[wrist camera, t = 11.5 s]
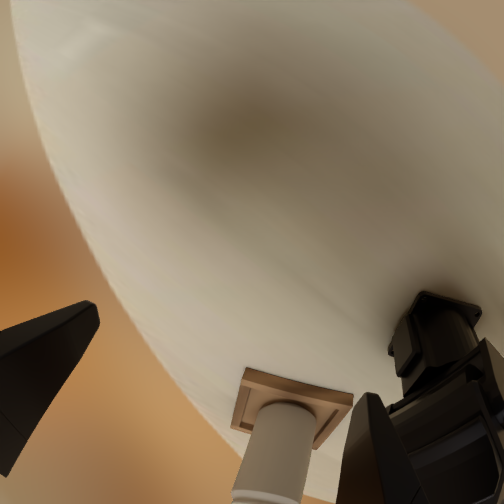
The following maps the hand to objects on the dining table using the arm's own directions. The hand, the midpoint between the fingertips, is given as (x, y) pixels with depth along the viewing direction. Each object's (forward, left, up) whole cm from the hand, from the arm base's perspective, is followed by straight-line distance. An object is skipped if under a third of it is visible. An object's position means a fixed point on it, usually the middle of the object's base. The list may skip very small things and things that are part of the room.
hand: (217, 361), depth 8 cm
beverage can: (-5, +21, -13) cm, 25 cm away
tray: (-5, +21, -13) cm, 26 cm away
